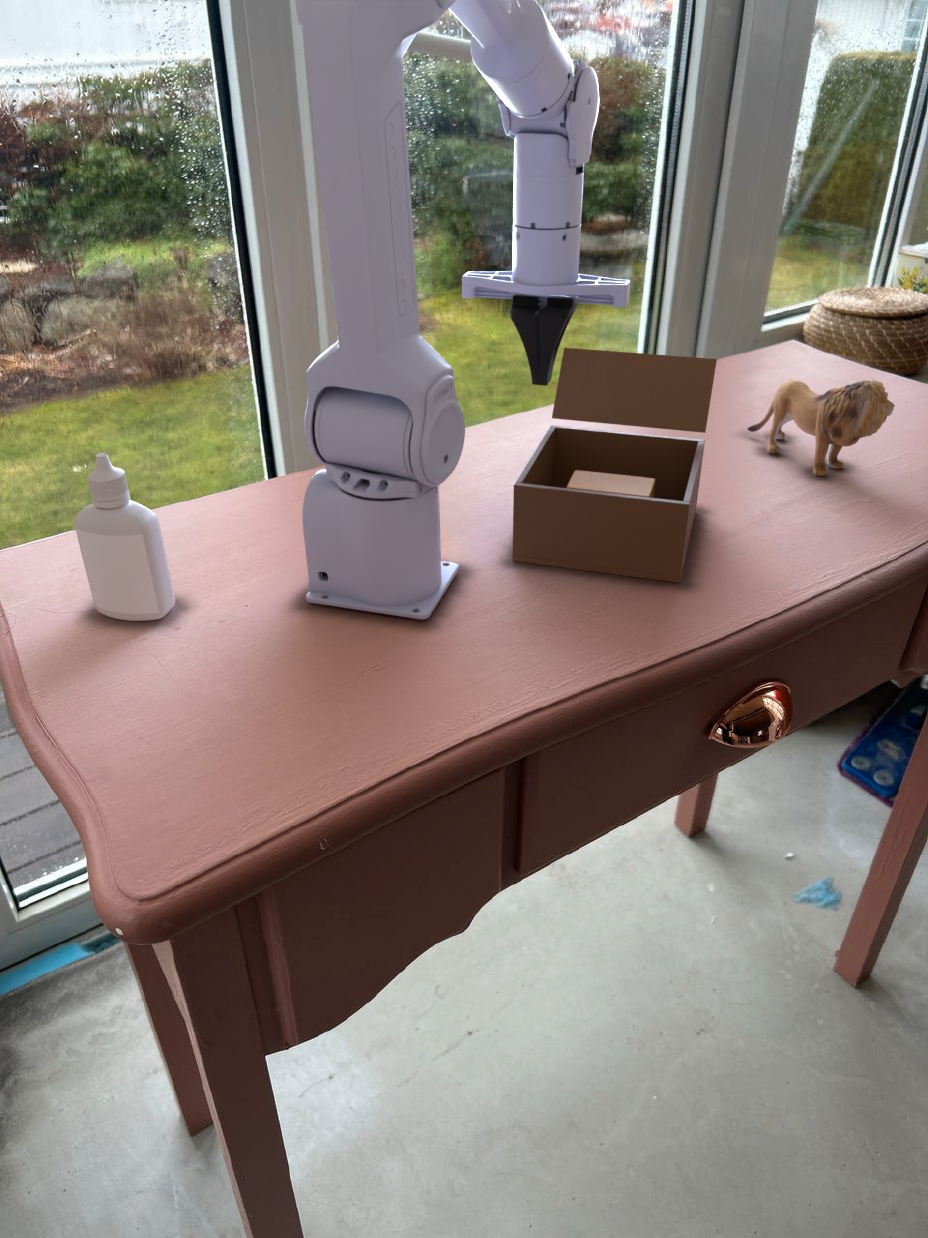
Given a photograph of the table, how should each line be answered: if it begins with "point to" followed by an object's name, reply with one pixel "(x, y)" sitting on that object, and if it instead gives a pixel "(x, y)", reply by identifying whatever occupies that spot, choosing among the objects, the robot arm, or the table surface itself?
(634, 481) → the beige block
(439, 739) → the table surface
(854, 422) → the lion figurine
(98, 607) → the eye dropper bottle
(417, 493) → the robot arm
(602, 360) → the flap
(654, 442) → the bread box
